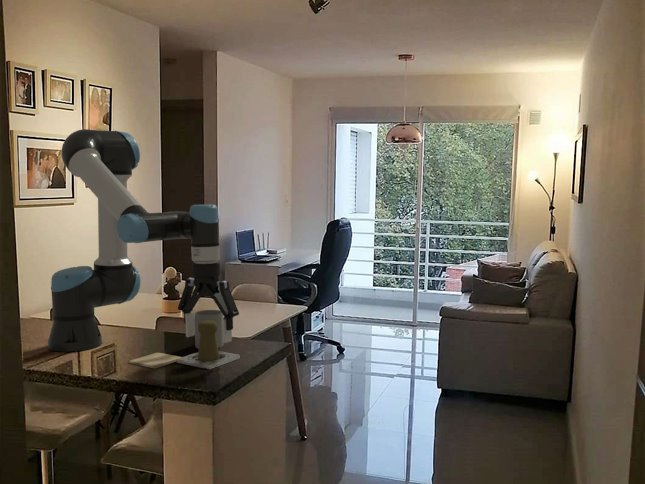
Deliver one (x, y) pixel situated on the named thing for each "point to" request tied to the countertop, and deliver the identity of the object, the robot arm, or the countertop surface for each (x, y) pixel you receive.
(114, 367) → the countertop surface
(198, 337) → the cup
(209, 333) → the pepper shaker
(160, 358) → the coaster
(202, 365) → the plate
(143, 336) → the countertop surface
